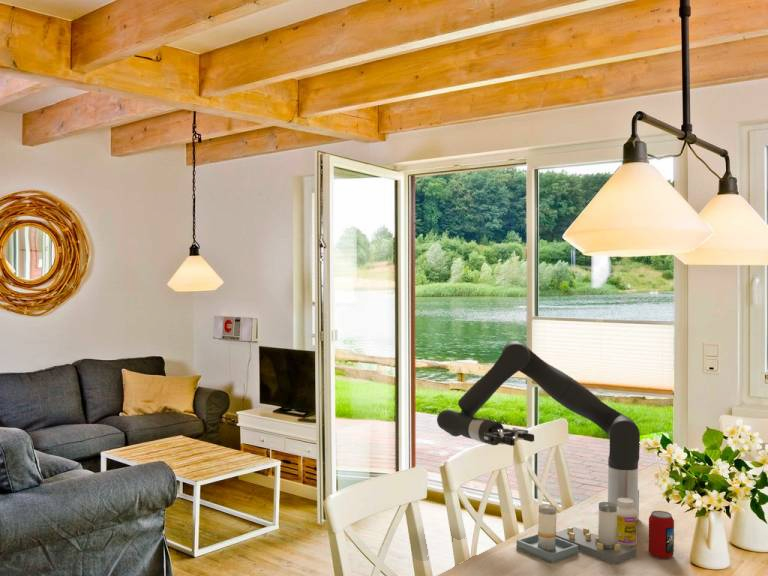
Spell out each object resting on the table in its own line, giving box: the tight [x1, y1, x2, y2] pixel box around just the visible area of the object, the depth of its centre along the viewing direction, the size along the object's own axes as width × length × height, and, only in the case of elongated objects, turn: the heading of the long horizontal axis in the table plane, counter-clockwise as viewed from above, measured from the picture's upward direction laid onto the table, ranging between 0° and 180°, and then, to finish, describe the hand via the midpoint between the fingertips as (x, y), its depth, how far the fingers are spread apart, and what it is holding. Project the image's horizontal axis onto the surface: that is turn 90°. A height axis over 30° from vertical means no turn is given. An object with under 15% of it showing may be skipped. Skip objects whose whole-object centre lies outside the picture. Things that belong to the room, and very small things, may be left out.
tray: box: [515, 533, 579, 564], centre depth 210 cm, size 11×13×2 cm
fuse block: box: [556, 526, 637, 565], centre depth 213 cm, size 10×22×4 cm, turn 36°
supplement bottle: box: [617, 498, 638, 547], centre depth 217 cm, size 7×7×13 cm
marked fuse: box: [537, 503, 557, 552], centre depth 210 cm, size 5×5×12 cm
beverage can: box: [647, 510, 675, 560], centre depth 207 cm, size 7×7×12 cm
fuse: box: [597, 501, 617, 550], centre depth 209 cm, size 5×5×12 cm
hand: (523, 440), depth 221 cm, fingers open, 8 cm apart
